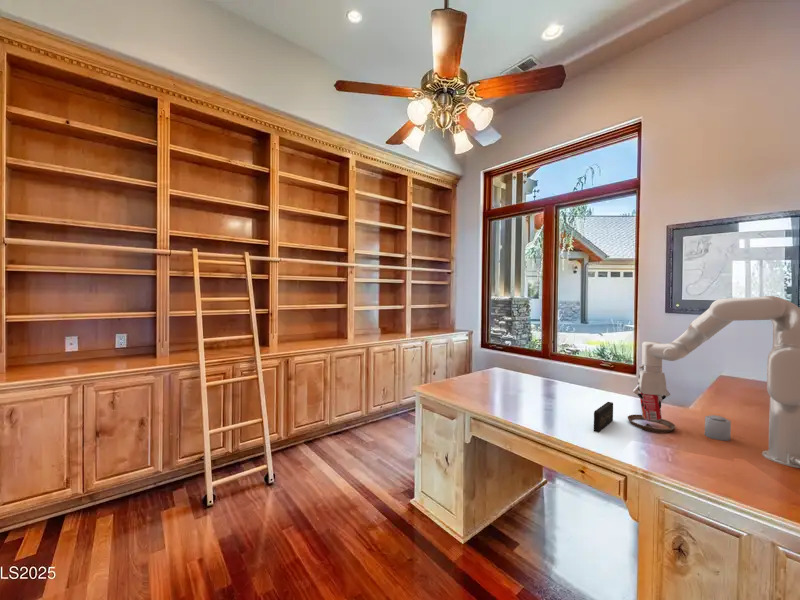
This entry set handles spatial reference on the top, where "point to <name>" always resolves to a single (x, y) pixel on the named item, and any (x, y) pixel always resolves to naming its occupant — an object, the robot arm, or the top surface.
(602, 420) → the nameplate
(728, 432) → the grey ceramic cup
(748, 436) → the top surface
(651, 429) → the plant saucer
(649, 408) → the soda can
